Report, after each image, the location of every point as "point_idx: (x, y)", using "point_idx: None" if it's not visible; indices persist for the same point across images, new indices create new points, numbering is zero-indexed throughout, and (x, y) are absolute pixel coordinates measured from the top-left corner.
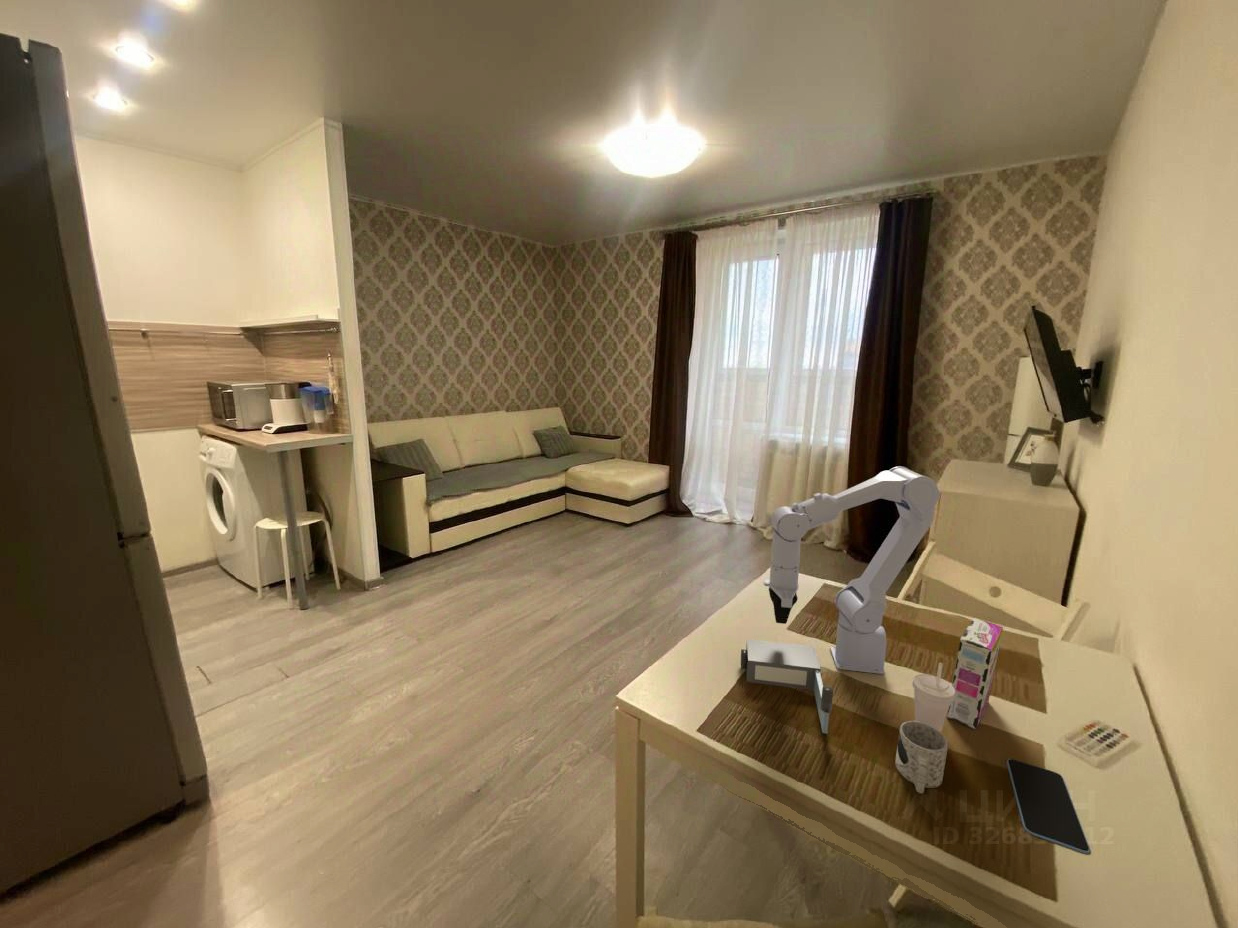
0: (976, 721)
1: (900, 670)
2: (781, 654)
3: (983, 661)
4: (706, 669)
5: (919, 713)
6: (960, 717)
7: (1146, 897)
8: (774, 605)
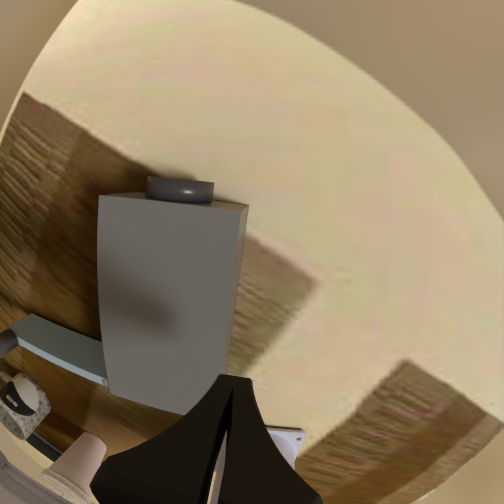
0: None
1: None
2: (148, 321)
3: None
4: (188, 79)
5: (67, 451)
6: None
7: (13, 435)
8: (153, 438)
